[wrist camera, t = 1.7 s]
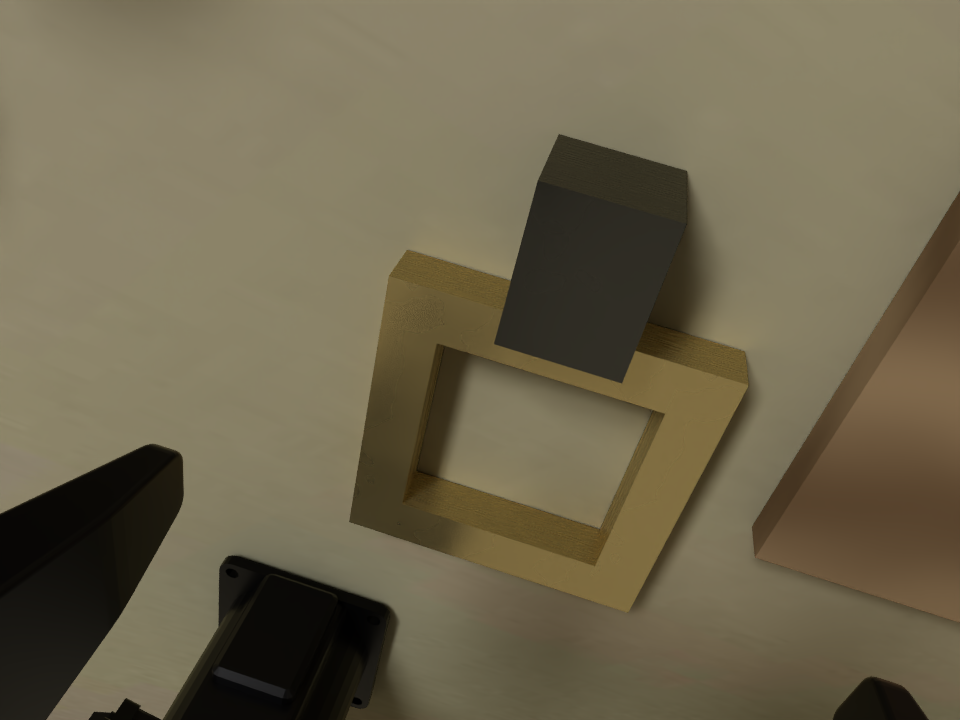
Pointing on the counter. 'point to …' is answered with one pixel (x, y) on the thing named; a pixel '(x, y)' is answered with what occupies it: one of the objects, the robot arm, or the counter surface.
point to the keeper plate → (886, 454)
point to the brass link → (554, 376)
